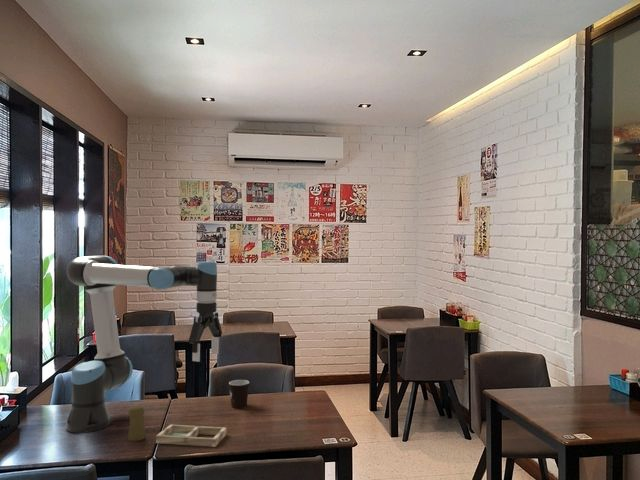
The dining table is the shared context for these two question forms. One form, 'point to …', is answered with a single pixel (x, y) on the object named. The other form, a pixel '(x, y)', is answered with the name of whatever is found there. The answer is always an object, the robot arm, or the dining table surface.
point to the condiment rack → (191, 435)
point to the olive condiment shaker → (136, 424)
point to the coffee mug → (239, 393)
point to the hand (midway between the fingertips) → (205, 357)
